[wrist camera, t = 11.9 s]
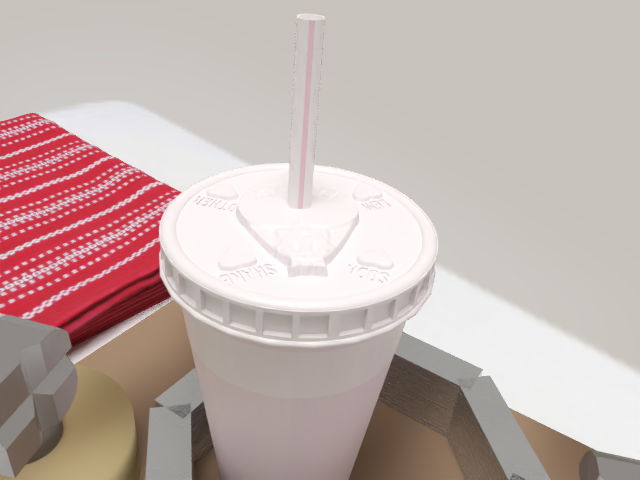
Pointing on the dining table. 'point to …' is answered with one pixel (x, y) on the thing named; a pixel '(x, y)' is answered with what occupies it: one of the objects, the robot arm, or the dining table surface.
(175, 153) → the dining table surface
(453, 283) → the dining table surface
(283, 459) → the smoothie
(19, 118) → the dish towel
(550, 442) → the carrier board
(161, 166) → the dining table surface
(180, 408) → the socket ring
